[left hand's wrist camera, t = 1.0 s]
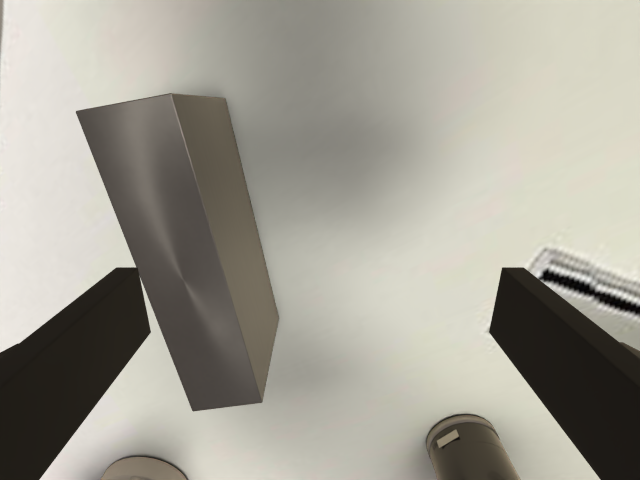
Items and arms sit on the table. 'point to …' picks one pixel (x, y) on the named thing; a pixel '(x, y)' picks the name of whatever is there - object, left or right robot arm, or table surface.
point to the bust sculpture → (142, 470)
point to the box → (191, 238)
